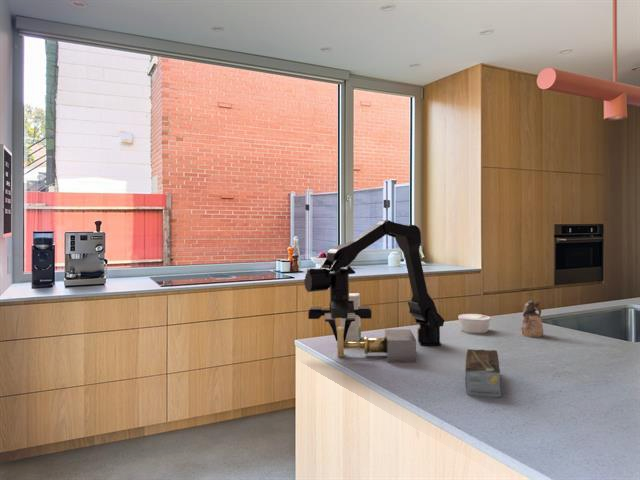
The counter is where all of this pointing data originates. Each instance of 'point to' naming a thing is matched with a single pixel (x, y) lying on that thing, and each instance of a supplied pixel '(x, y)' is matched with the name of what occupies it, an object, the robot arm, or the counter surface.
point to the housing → (400, 346)
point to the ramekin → (474, 323)
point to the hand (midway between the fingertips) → (340, 340)
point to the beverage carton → (483, 373)
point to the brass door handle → (360, 344)
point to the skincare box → (355, 326)
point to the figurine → (532, 320)
